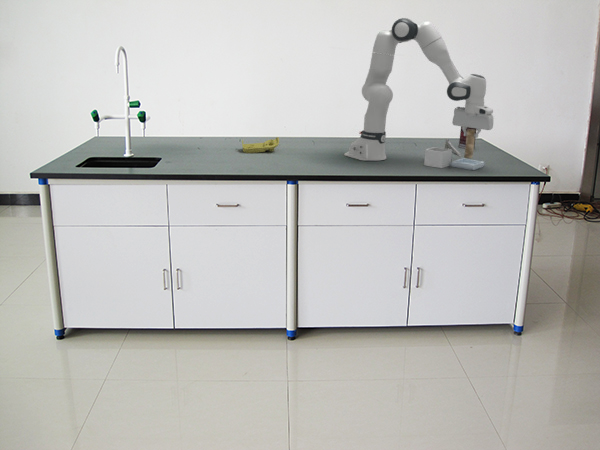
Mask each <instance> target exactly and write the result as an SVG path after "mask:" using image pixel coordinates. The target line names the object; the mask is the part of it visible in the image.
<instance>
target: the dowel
mask: <svg viewBox="0 0 600 450" xmlns="http://www.w3.org/2000/svg"><path fill="white" fill-rule="evenodd" d="M475 133H477V130H474V129H468V130H467V138H466V147H465V148H464V157H463V158H465V159H471V160H472V159H473V157H474V150H475V147H474V141H475V142H476V138H475V137H474V134H475Z"/></svg>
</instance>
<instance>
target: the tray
mask: <svg viewBox="0 0 600 450" xmlns="http://www.w3.org/2000/svg"><path fill="white" fill-rule="evenodd" d="M450 167H454V168H459V169H462V170H468V171H475V170H479V169H482V168H483V167H485V161H482V160H481V161H480V160H475V159H472V158H471V159H468V158H464V157H461V158H459V159H455V160H451V164H450Z"/></svg>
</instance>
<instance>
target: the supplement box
mask: <svg viewBox="0 0 600 450" xmlns="http://www.w3.org/2000/svg"><path fill="white" fill-rule="evenodd" d="M468 129H474V130H476V131H477V129H476V128H469V127H467V129H466V131H467V130H468ZM476 133H477V132H476ZM476 133H475V134H476ZM459 134H460V135H459V140H458V141H459V142H458V148H461V149H465V147H466V138H467V136H464V132H463V129H462V126H460V133H459ZM475 145H476V140H475V141H474V148H475Z"/></svg>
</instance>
